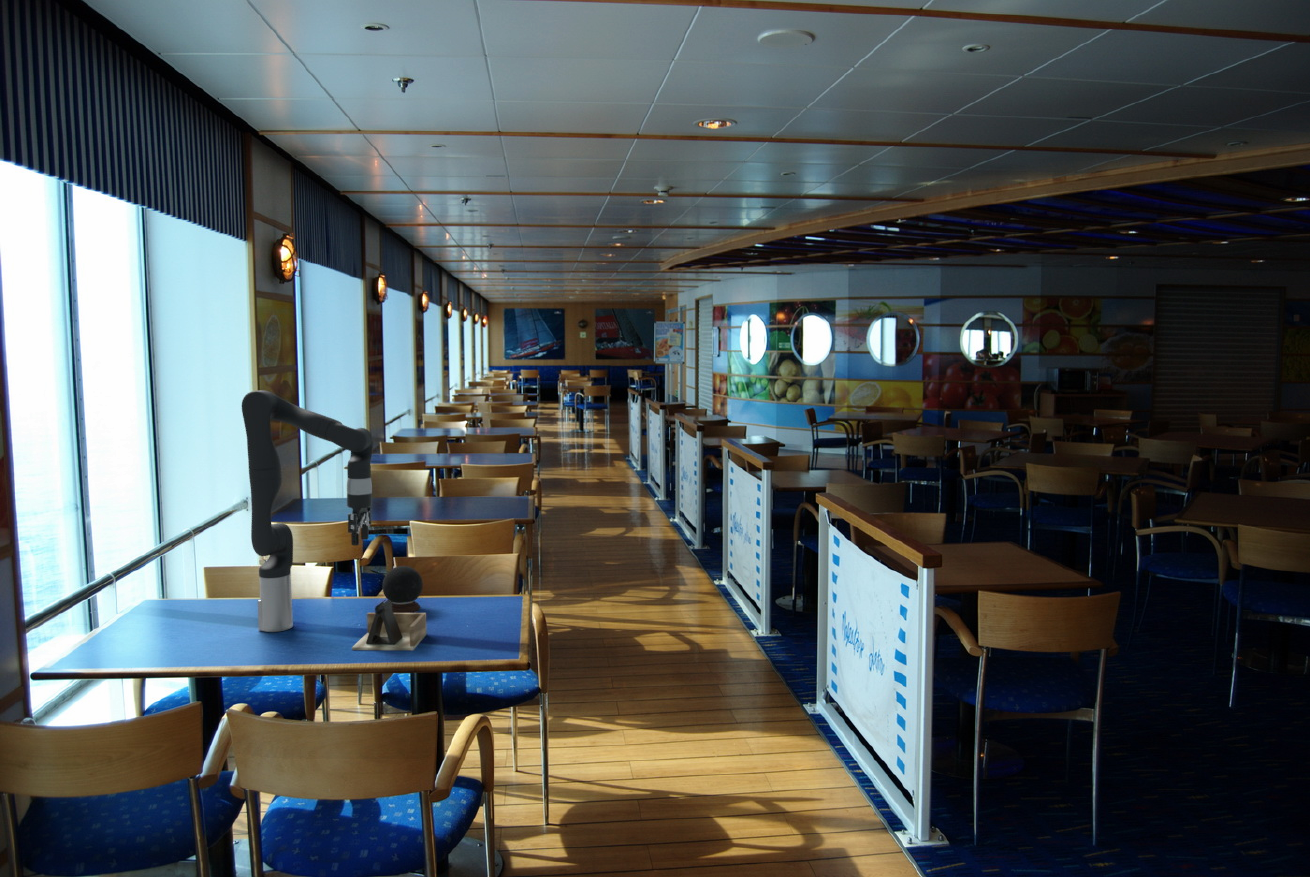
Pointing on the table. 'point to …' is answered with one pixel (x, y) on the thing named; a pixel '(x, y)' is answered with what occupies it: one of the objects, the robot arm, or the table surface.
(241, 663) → the table surface
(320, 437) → the robot arm
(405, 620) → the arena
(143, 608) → the table surface
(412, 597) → the stone ball on stand
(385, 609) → the phone stand
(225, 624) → the table surface
